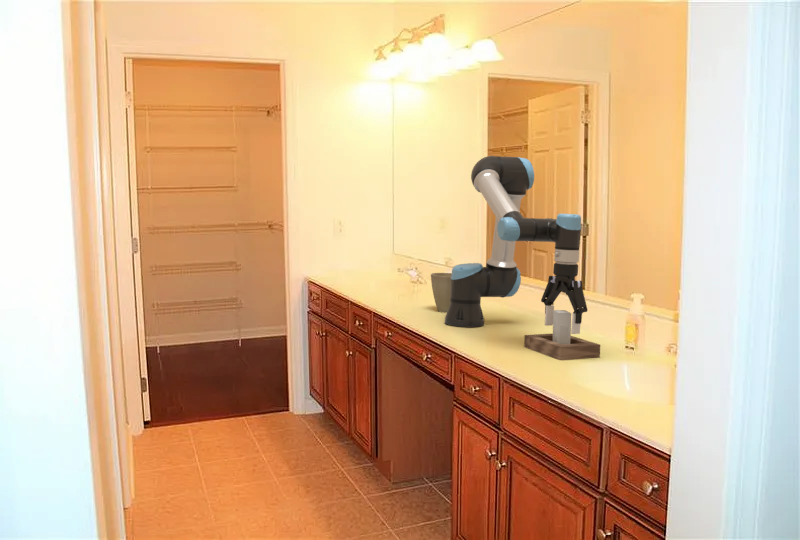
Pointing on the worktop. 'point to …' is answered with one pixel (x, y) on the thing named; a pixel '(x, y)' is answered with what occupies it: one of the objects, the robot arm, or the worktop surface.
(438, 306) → the plant pot
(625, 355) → the worktop surface
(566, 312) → the skincare box
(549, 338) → the tray
